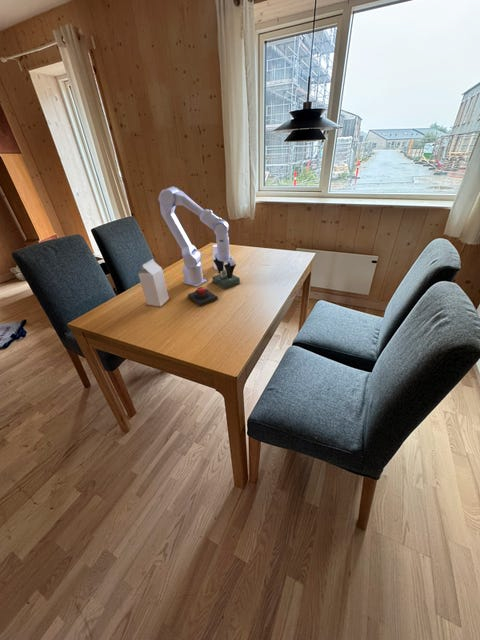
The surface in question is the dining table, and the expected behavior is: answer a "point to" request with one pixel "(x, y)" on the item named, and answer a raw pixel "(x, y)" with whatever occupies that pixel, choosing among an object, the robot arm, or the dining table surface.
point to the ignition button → (201, 290)
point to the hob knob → (223, 274)
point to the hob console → (226, 281)
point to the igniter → (202, 297)
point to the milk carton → (153, 284)
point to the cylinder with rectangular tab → (215, 258)
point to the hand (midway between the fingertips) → (225, 275)
